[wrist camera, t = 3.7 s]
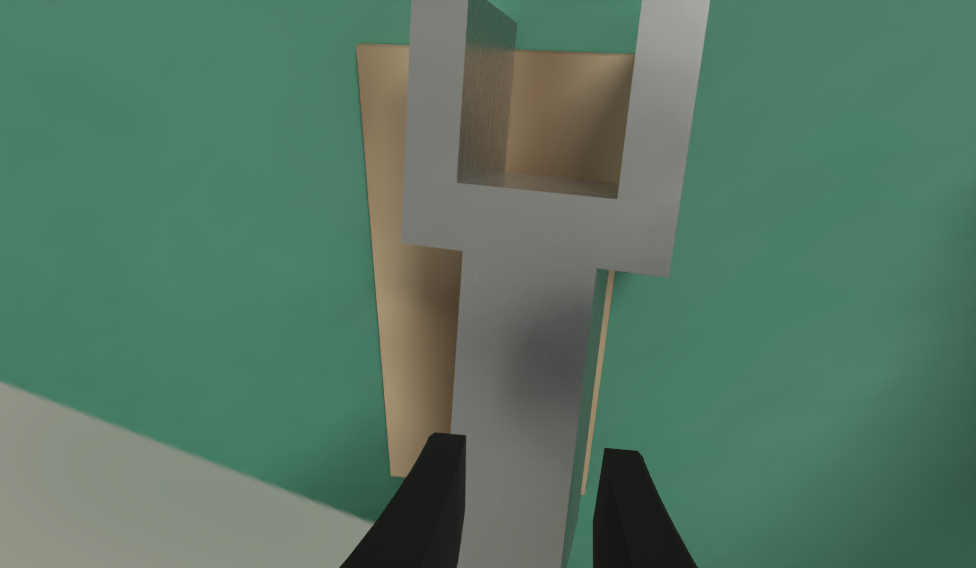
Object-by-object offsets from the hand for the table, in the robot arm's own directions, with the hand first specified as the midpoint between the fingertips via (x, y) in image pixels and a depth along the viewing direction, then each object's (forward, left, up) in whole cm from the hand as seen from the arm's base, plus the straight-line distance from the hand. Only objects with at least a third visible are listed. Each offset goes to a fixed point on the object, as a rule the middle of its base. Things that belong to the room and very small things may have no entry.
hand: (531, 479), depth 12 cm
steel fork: (0, 0, -7) cm, 7 cm away
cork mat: (+2, +2, -10) cm, 11 cm away
